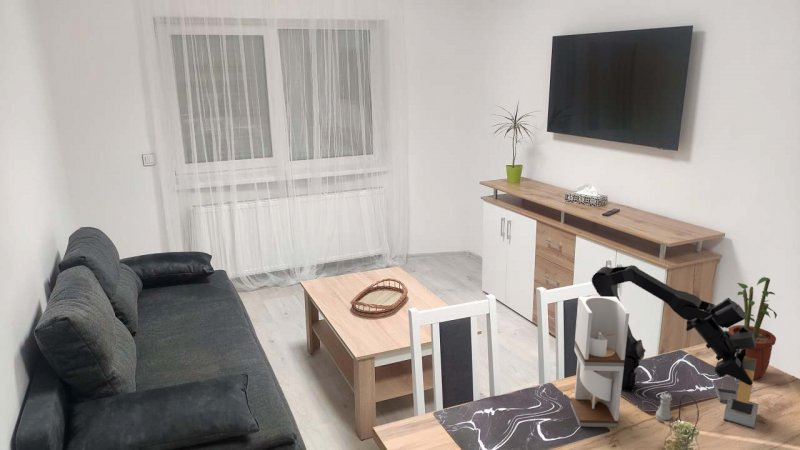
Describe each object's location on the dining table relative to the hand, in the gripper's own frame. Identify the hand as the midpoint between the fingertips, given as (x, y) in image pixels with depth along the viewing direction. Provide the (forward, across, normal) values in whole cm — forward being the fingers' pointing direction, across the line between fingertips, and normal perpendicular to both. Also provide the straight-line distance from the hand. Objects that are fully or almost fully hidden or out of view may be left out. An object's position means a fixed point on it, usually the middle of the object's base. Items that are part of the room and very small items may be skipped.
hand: (752, 381), depth 160 cm
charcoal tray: (+5, +9, +13) cm, 17 cm away
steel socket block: (+8, 0, +10) cm, 13 cm away
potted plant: (+6, +30, +13) cm, 33 cm away
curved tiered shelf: (-16, -21, +35) cm, 44 cm away
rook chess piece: (-4, -12, +23) cm, 26 cm away
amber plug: (+3, 0, +5) cm, 6 cm away
